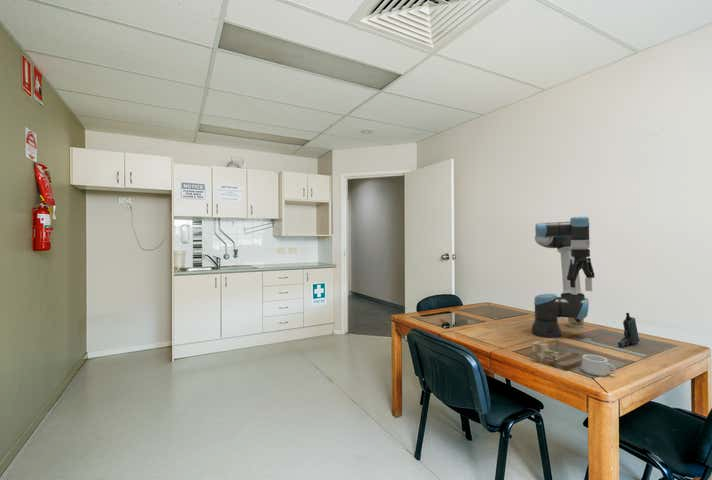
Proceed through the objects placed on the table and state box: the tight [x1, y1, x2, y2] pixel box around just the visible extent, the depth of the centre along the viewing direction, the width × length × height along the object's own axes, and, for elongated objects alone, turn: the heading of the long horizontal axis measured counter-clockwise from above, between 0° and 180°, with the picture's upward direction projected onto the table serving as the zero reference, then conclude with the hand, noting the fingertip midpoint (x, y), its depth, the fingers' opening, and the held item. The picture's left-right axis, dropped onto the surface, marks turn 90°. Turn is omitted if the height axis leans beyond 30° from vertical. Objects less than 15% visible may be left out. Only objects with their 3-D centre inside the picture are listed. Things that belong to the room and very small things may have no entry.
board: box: [543, 350, 584, 372], centre depth 151 cm, size 10×20×2 cm, turn 121°
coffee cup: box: [567, 318, 585, 329], centre depth 208 cm, size 9×9×12 cm
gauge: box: [531, 340, 559, 364], centre depth 152 cm, size 10×5×8 cm, turn 31°
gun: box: [617, 312, 641, 349], centre depth 170 cm, size 3×17×15 cm
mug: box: [580, 354, 617, 377], centre depth 139 cm, size 12×10×6 cm
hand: (581, 292), depth 159 cm, fingers open, 13 cm apart
